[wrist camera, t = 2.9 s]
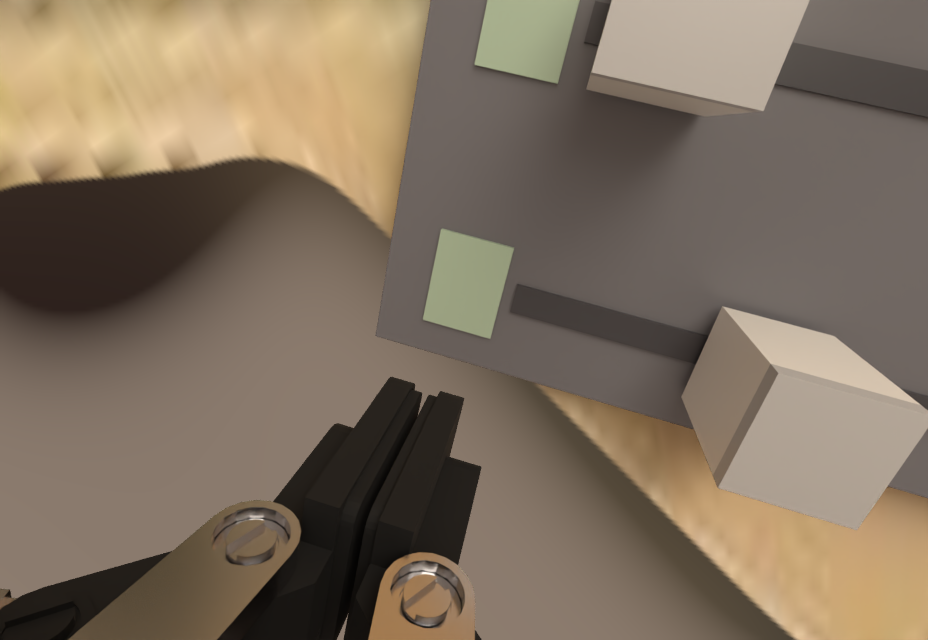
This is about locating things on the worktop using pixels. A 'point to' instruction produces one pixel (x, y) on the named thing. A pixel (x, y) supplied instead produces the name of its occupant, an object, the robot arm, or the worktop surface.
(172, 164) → the worktop surface
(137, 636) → the robot arm
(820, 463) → the beige slider knob
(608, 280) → the panel
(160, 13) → the worktop surface
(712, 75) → the on switch
